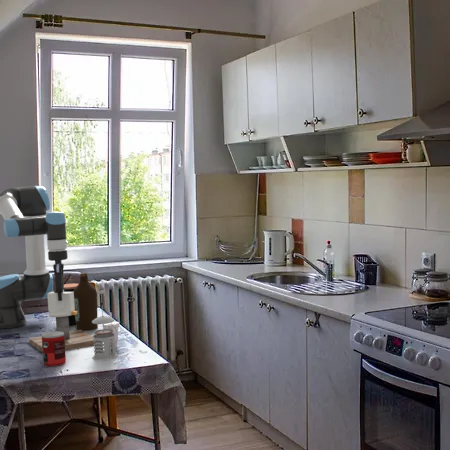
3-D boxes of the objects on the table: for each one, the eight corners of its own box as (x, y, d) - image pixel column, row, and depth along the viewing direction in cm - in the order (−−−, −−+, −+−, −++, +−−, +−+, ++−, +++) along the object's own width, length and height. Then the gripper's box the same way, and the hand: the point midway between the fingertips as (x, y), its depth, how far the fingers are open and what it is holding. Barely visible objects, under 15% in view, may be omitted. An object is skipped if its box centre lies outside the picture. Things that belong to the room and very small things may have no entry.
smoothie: (106, 350, 251) (104, 314, 250) (102, 347, 257) (99, 312, 256) (122, 348, 254) (120, 312, 253) (117, 344, 260) (115, 309, 259)
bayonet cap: (44, 317, 261) (42, 294, 261) (57, 311, 271) (56, 290, 270) (70, 317, 258) (68, 294, 257) (82, 312, 268) (81, 290, 267)
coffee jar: (77, 326, 297) (75, 287, 296) (55, 326, 299) (53, 287, 298) (87, 321, 307) (84, 283, 306) (66, 321, 309) (63, 283, 308)
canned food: (45, 361, 240) (43, 332, 239) (67, 359, 240) (65, 330, 240) (41, 367, 232) (39, 336, 231) (64, 365, 233) (62, 335, 232)
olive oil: (96, 324, 298) (93, 270, 296) (101, 329, 289) (98, 273, 287) (73, 327, 294) (69, 272, 292) (77, 332, 284) (73, 275, 283)
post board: (29, 343, 269) (27, 315, 268) (80, 334, 281) (79, 307, 280) (44, 353, 250) (42, 323, 250) (99, 344, 262) (97, 315, 261)
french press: (106, 352, 249) (102, 287, 247) (127, 356, 242) (123, 289, 240) (86, 358, 241) (82, 291, 240) (106, 362, 234) (102, 294, 232)
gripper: (66, 251, 254) (69, 310, 256) (68, 247, 272) (71, 302, 274) (46, 253, 253) (50, 312, 255) (49, 248, 271) (53, 303, 273)
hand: (61, 306), depth 264 cm, fingers closed on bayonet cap, 5 cm apart
